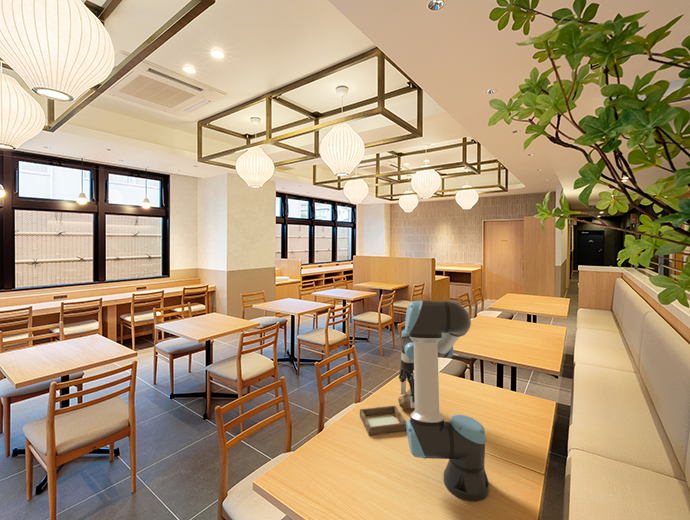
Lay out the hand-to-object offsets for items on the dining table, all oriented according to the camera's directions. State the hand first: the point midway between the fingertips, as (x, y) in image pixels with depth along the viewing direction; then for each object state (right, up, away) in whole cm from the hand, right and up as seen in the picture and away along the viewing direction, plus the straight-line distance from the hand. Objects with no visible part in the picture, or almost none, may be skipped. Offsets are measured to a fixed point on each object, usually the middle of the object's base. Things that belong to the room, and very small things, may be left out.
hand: (407, 400), depth 170 cm
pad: (-14, -5, -14) cm, 21 cm away
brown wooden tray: (-14, -5, -14) cm, 21 cm away
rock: (0, -4, 0) cm, 4 cm away
